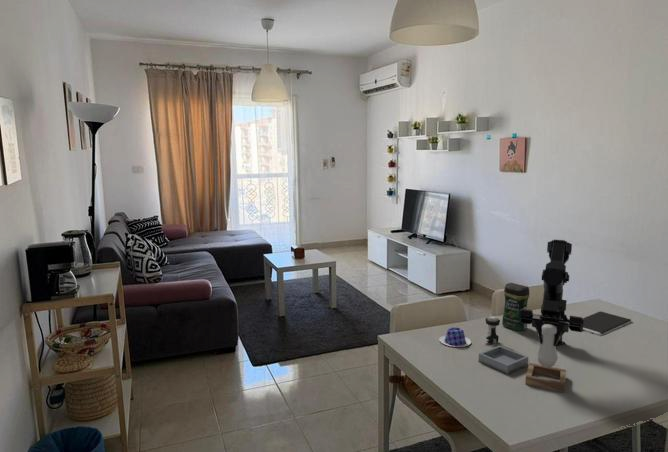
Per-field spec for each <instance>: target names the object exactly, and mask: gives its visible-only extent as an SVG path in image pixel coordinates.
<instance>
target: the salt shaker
mask: <svg viewBox="0 0 668 452" xmlns="http://www.w3.org/2000/svg"><path fill="white" fill-rule="evenodd" d="M543 333H544V334H543ZM556 333H557V328H556V327H555V326H554V325H551V324H544V325H543V326H542V344H540V345H539V349H538V352H537V361H538V362H539V365H543V366H546V367H554V366H555V365H556V363H557V361H558V353H557V346H554V340H555V335H554V334H556Z"/></svg>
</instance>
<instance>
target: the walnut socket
mask: <svg viewBox="0 0 668 452" xmlns="http://www.w3.org/2000/svg"><path fill="white" fill-rule="evenodd" d="M534 374H538V375H544V376H547V377H554V378H557V379H559V381H558V380H553V379H548V378H543V377H538V376H534ZM566 375H567V369H563V368H558V367H554V366H552V367H546V366H543V365H541V364H536V363H532V362H528V367H527V371H526V373H525V382H524V383H525V385H527V386H531V387H535V388H536V387H537V388H542V389H546V390H550V391H556V392H560V393H565V388H566Z"/></svg>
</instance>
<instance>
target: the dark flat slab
mask: <svg viewBox="0 0 668 452" xmlns="http://www.w3.org/2000/svg"><path fill="white" fill-rule="evenodd" d="M582 318H583V319H584V322H583V331H585V332H586V333H589V334H593V335H595V336H600V337H601V336H603V335H605V334H607V333H610V332H612V331H614V330H616V329H617V330H618V329H620V328H621V327H624V326H625V325H628V324H630V323H631V322H632V319H631V318H627V317H624V316H621V315H617V314H612V313H609V312H606V311H597V312H595V313H593V314H590V315H588V316H586V317H585V316H584V317H582Z"/></svg>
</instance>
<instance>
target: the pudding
mask: <svg viewBox="0 0 668 452" xmlns="http://www.w3.org/2000/svg"><path fill="white" fill-rule="evenodd" d="M444 339H445V340H444ZM438 340H439V342H441V344H442V345H446V346H448V347H453V348H463V347H468V346H470V345H471V344H472V341H471V339H470V338H469V337H467V336H465V332H464V330H463V329H462V328H461V327H457V326H456V327H453V326H451V327H449V328H448V329H447V330H446V334H445V335H442V336H440V337H439V338H438Z"/></svg>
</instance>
